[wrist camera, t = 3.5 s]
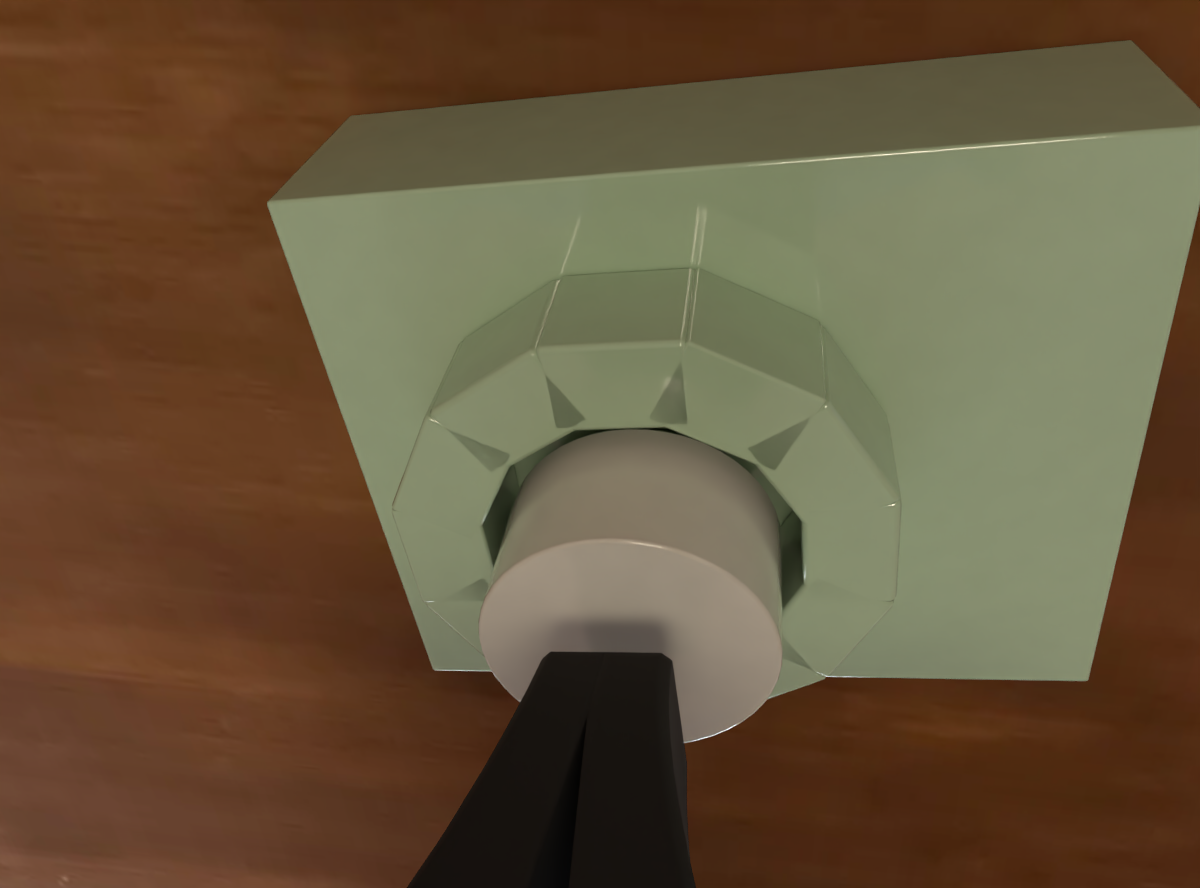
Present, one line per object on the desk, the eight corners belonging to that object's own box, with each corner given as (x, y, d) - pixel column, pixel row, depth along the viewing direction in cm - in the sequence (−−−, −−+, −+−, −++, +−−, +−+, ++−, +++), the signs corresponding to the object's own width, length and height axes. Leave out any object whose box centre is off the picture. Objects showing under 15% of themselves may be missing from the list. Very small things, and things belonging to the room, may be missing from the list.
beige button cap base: (1133, 38, 13) (1290, 194, 9) (1045, 544, 18) (1120, 781, 14) (348, 115, 15) (200, 268, 11) (474, 549, 20) (403, 756, 16)
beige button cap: (777, 422, 12) (778, 538, 10) (784, 628, 14) (787, 752, 12) (488, 431, 13) (446, 542, 11) (537, 627, 15) (508, 742, 13)
